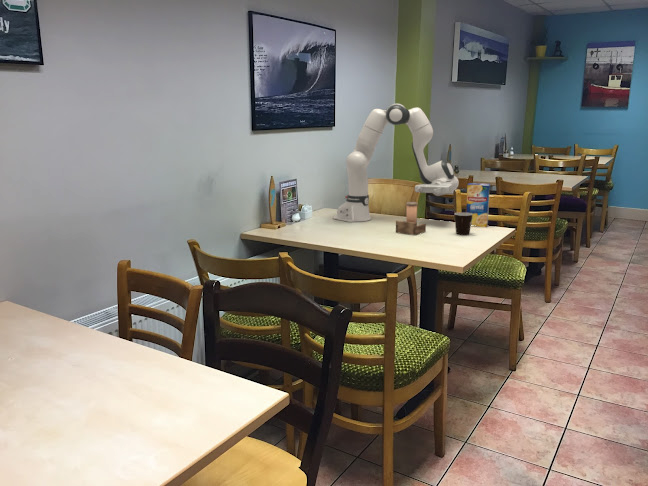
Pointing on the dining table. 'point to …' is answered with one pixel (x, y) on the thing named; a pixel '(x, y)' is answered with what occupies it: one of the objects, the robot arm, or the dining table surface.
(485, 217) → the blue yellow food box
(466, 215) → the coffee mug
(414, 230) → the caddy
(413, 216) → the canister
